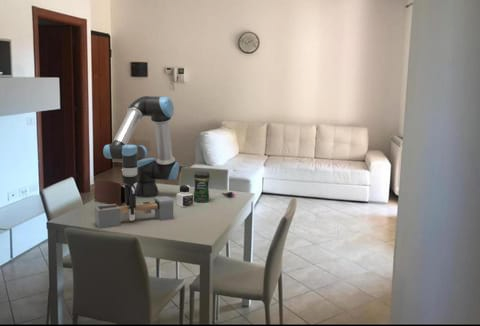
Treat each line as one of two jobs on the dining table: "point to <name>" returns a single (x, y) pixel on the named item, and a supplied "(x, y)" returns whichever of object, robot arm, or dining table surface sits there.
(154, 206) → the slat
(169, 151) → the robot arm
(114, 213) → the frame
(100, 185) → the letter holder
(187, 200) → the medicine bottle
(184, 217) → the dining table surface
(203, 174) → the coffee jar
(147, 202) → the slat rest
